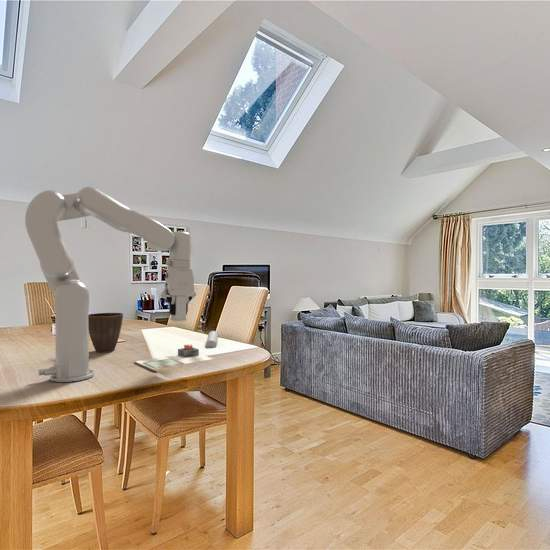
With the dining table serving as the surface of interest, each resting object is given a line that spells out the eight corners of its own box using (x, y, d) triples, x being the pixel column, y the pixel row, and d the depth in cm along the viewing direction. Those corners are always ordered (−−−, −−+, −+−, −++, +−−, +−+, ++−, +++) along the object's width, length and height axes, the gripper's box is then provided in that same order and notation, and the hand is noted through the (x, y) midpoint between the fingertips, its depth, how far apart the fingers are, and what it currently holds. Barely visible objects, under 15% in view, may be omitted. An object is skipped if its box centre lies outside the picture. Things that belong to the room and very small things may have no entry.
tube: (218, 341, 171) (219, 332, 195) (207, 337, 170) (209, 329, 195) (214, 353, 171) (216, 342, 195) (203, 349, 170) (206, 339, 195)
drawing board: (153, 372, 131) (153, 362, 131) (134, 364, 144) (133, 354, 144) (216, 361, 147) (216, 352, 147) (194, 354, 160) (193, 346, 160)
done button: (186, 352, 152) (186, 346, 152) (182, 351, 155) (182, 345, 155) (193, 351, 154) (193, 345, 154) (189, 350, 157) (189, 344, 157)
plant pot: (120, 353, 163) (120, 315, 163) (82, 355, 160) (81, 316, 160) (125, 347, 178) (125, 312, 178) (90, 348, 174) (90, 313, 174)
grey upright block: (176, 321, 141) (176, 290, 141) (171, 320, 144) (171, 290, 144) (186, 320, 144) (186, 290, 144) (180, 319, 147) (181, 290, 147)
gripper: (162, 264, 136) (161, 316, 135) (204, 265, 147) (203, 314, 146) (153, 264, 141) (152, 314, 141) (194, 266, 152) (193, 312, 152)
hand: (178, 314), depth 144 cm, fingers closed on grey upright block, 4 cm apart
